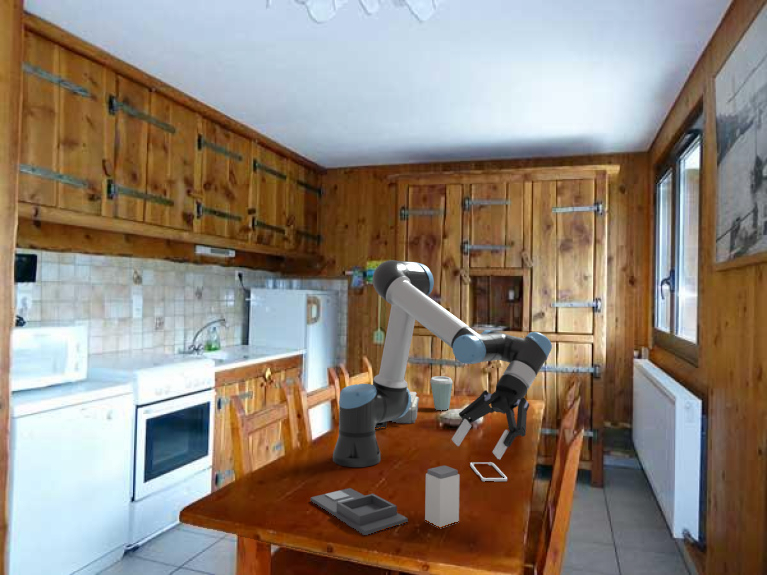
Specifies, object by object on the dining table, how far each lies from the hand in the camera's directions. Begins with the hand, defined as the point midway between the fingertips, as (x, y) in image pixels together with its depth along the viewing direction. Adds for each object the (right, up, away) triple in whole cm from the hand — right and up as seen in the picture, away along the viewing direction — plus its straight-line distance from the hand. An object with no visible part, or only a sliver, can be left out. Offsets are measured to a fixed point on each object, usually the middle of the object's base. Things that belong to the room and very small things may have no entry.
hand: (474, 449), depth 131 cm
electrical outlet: (-14, -17, +100) cm, 102 cm away
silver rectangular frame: (+9, -17, +29) cm, 35 cm away
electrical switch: (-25, -17, +81) cm, 87 cm away
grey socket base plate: (-29, -15, -2) cm, 32 cm away
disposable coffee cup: (+5, -18, +120) cm, 121 cm away
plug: (-9, -15, -7) cm, 18 cm away
